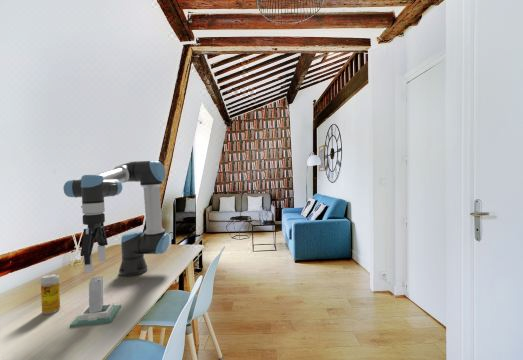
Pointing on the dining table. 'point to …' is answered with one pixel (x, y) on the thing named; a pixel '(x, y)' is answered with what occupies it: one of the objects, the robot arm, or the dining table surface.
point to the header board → (96, 316)
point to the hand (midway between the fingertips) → (95, 266)
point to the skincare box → (96, 294)
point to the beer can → (50, 293)
